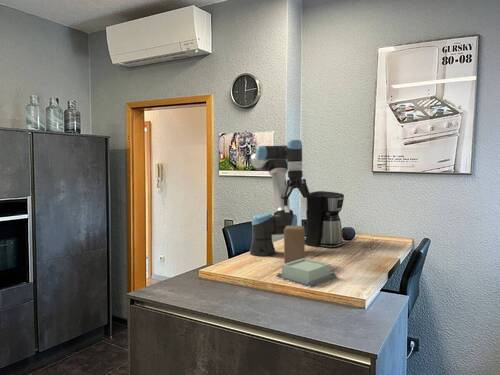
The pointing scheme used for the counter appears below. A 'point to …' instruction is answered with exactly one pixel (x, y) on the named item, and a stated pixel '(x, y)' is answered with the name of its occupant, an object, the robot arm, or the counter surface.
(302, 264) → the plate
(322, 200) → the coffee maker
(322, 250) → the counter surface
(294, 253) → the block
